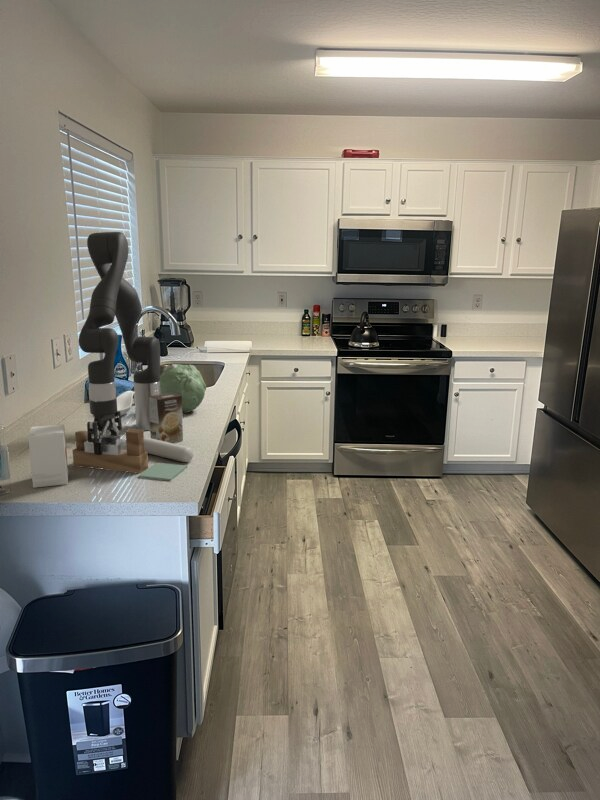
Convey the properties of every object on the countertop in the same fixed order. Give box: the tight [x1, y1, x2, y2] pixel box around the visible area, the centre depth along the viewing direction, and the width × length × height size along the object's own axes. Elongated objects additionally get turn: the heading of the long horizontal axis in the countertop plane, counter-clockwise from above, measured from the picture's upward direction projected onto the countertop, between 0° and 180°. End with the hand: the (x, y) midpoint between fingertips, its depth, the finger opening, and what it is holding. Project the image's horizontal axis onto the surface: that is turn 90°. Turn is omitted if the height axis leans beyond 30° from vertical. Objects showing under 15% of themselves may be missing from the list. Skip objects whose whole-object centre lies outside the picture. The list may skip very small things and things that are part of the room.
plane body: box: [72, 428, 149, 474], centre depth 171 cm, size 4×22×12 cm, turn 77°
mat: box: [137, 462, 188, 482], centre depth 169 cm, size 11×10×1 cm
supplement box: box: [27, 424, 69, 488], centre depth 160 cm, size 9×9×15 cm
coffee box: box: [149, 393, 184, 444], centre depth 195 cm, size 9×6×16 cm
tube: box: [144, 436, 194, 463], centre depth 182 cm, size 5×5×25 cm
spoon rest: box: [116, 390, 135, 416], centre depth 235 cm, size 24×12×7 cm, turn 166°
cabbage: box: [160, 363, 207, 414], centre depth 232 cm, size 16×19×20 cm
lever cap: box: [84, 434, 127, 455], centre depth 171 cm, size 6×11×5 cm, turn 77°
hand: (106, 450), depth 172 cm, fingers open, 8 cm apart
